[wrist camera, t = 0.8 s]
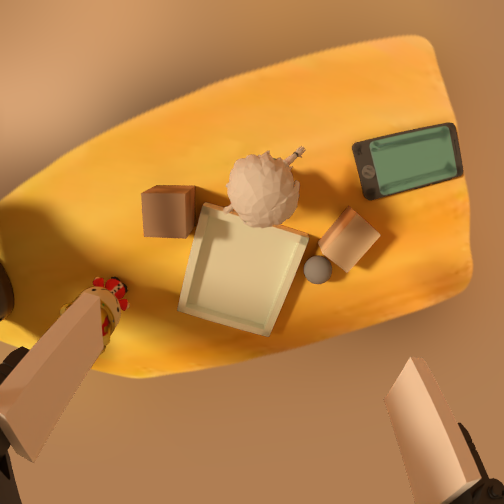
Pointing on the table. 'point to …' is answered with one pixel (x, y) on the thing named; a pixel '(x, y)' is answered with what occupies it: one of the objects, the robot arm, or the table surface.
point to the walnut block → (168, 211)
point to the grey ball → (317, 269)
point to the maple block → (348, 239)
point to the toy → (107, 304)
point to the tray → (239, 271)
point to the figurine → (263, 189)
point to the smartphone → (408, 160)
